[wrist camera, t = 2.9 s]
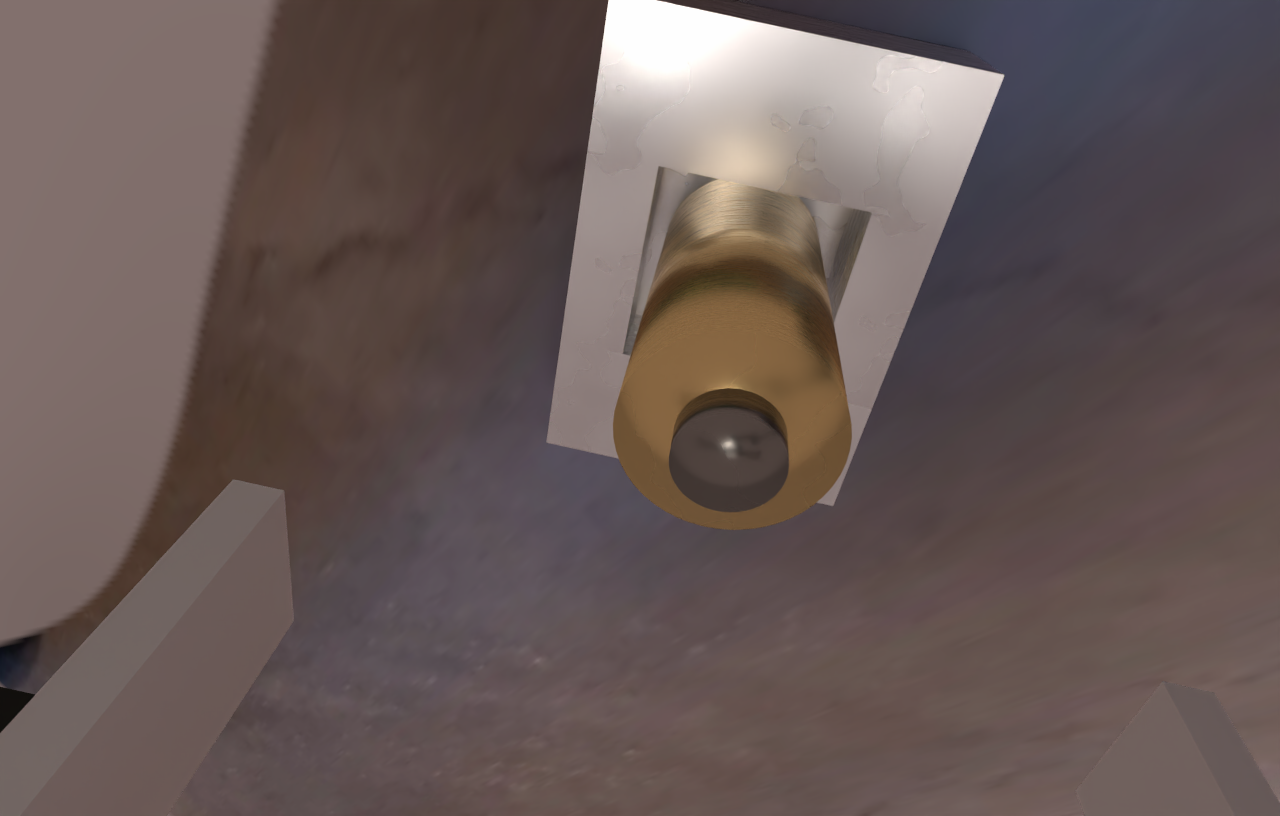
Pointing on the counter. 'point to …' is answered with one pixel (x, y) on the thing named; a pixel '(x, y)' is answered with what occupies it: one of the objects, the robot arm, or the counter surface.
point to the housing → (762, 175)
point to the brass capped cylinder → (735, 366)
